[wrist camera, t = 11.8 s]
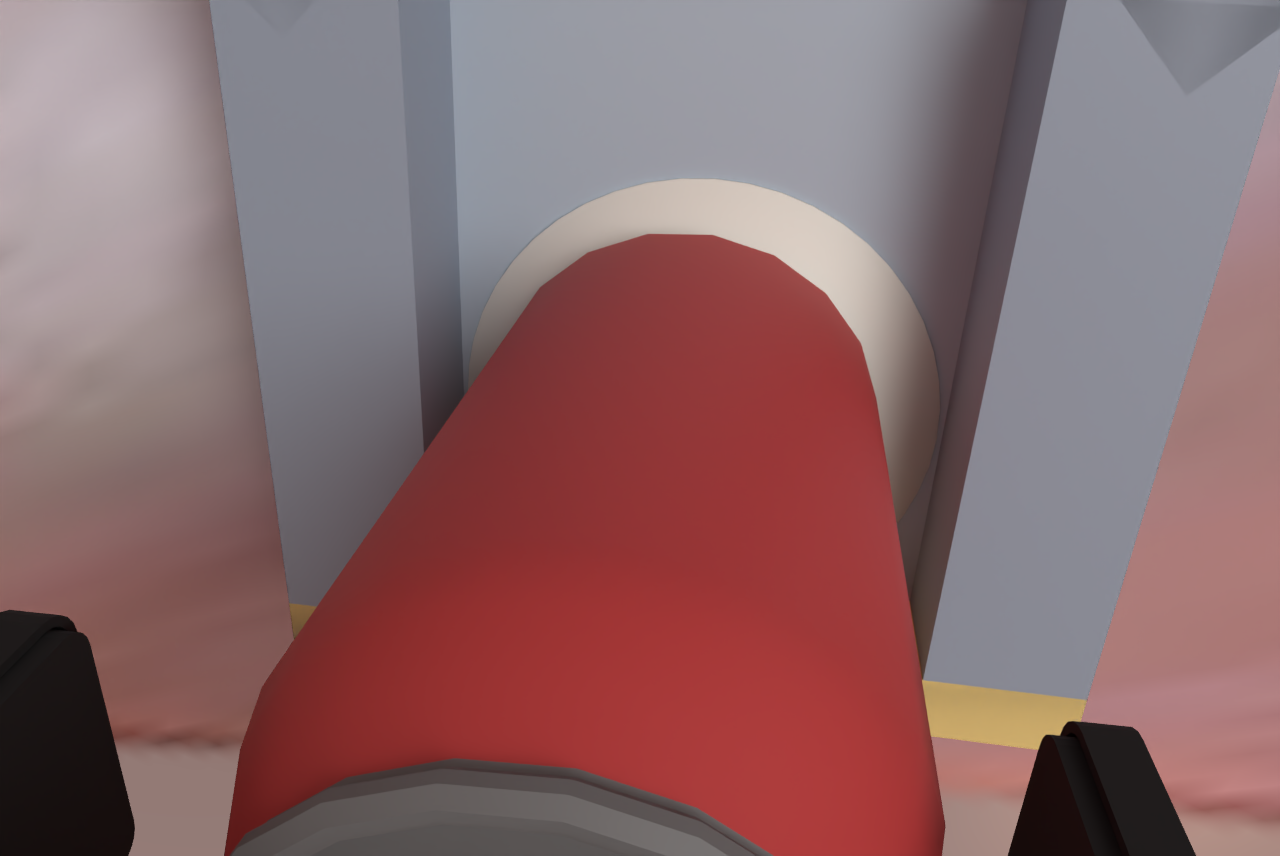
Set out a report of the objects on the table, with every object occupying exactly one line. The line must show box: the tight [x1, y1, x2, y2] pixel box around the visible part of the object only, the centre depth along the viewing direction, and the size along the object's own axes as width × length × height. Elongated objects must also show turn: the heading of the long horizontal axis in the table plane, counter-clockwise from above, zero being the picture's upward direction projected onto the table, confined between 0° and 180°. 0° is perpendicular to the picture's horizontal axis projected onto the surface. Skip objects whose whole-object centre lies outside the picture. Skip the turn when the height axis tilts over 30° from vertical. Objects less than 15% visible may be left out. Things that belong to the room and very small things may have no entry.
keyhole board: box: [209, 0, 1280, 750], centre depth 16 cm, size 15×20×4 cm
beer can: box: [224, 234, 945, 856], centre depth 13 cm, size 7×7×12 cm
